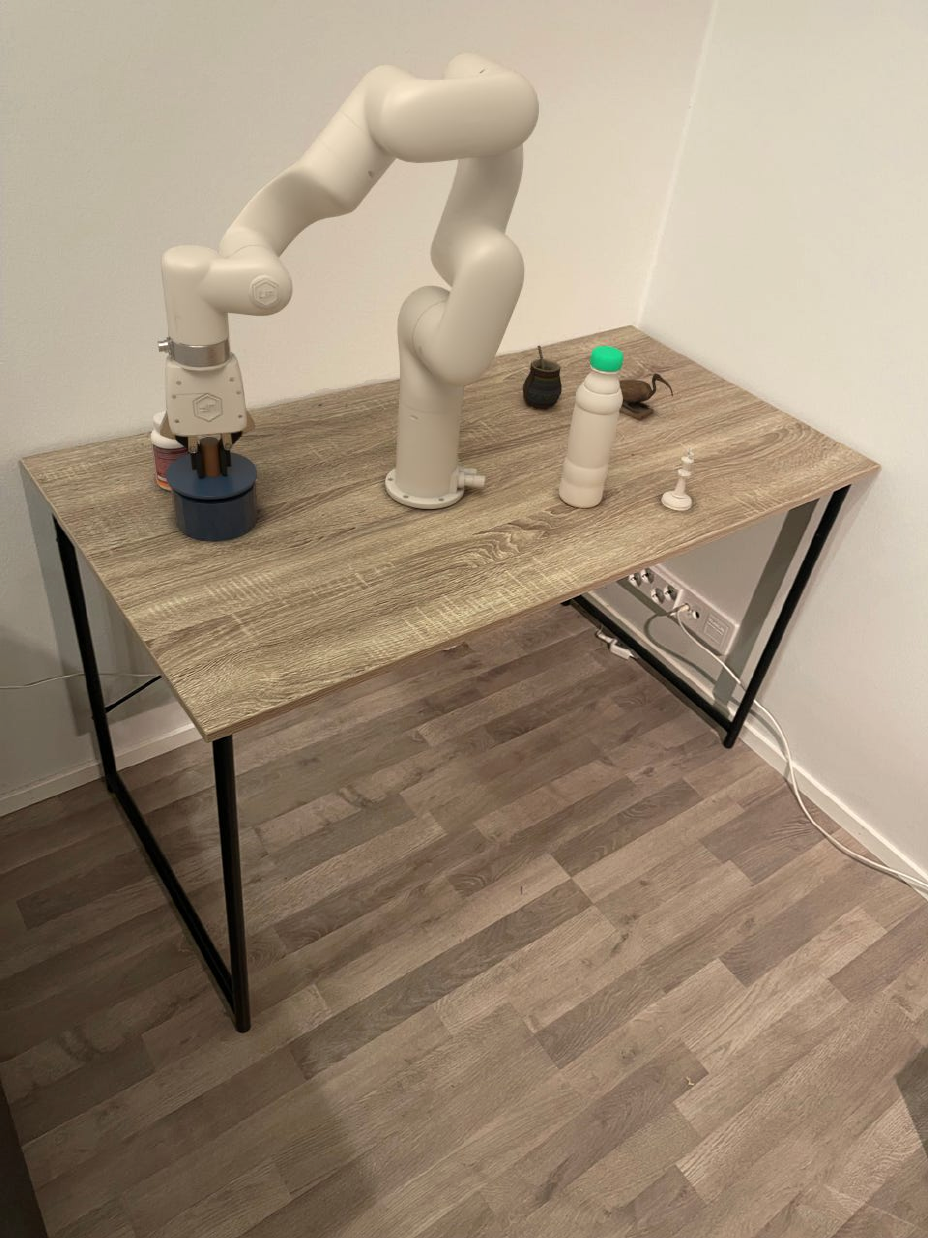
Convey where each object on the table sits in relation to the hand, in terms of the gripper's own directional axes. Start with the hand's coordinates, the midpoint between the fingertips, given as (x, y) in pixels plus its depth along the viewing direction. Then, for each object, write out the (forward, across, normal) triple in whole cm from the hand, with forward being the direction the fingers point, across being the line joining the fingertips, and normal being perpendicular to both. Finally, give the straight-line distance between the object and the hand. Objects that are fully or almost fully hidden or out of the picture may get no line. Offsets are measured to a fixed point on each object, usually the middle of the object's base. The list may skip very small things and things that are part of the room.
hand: (211, 470), depth 132 cm
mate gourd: (+8, +63, +26) cm, 68 cm away
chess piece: (+8, +72, -10) cm, 73 cm away
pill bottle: (+8, -4, +11) cm, 15 cm away
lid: (+1, 0, 0) cm, 1 cm away
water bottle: (+8, +57, -6) cm, 57 cm away
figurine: (+8, +80, +20) cm, 83 cm away
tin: (+8, 0, 0) cm, 8 cm away
